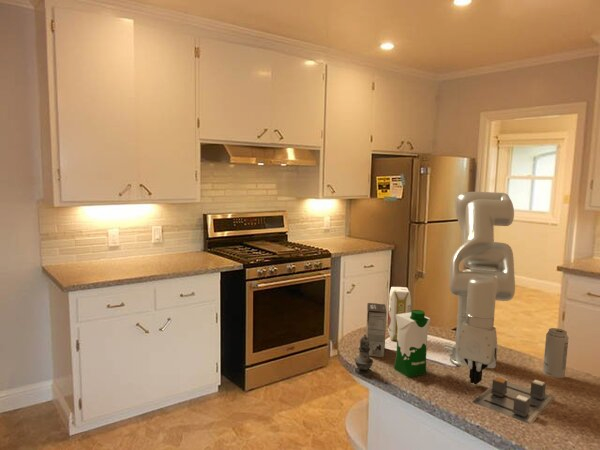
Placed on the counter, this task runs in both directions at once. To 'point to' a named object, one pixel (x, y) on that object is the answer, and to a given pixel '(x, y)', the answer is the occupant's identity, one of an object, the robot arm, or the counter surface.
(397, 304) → the juice carton
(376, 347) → the coffee box
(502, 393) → the block
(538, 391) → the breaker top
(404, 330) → the milk carton
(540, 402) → the panel
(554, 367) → the energy drink can
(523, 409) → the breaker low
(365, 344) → the grey ornate incense burner
